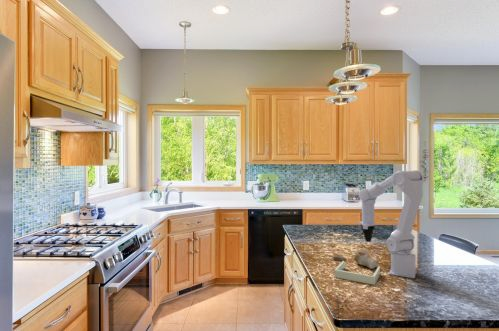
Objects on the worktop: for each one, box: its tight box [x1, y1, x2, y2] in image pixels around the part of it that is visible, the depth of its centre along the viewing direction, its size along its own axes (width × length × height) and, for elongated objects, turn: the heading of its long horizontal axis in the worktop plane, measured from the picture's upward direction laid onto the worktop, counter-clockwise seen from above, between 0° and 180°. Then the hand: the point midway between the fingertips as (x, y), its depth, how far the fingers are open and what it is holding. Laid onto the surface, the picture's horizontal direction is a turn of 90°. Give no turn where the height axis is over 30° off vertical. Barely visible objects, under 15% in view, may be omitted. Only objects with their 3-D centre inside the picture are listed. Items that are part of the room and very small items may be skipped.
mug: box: [353, 248, 380, 270], centre depth 135 cm, size 8×10×10 cm
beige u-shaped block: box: [333, 260, 381, 286], centre depth 124 cm, size 16×13×3 cm
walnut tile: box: [332, 253, 345, 262], centre depth 145 cm, size 5×5×2 cm
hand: (368, 241), depth 144 cm, fingers closed
